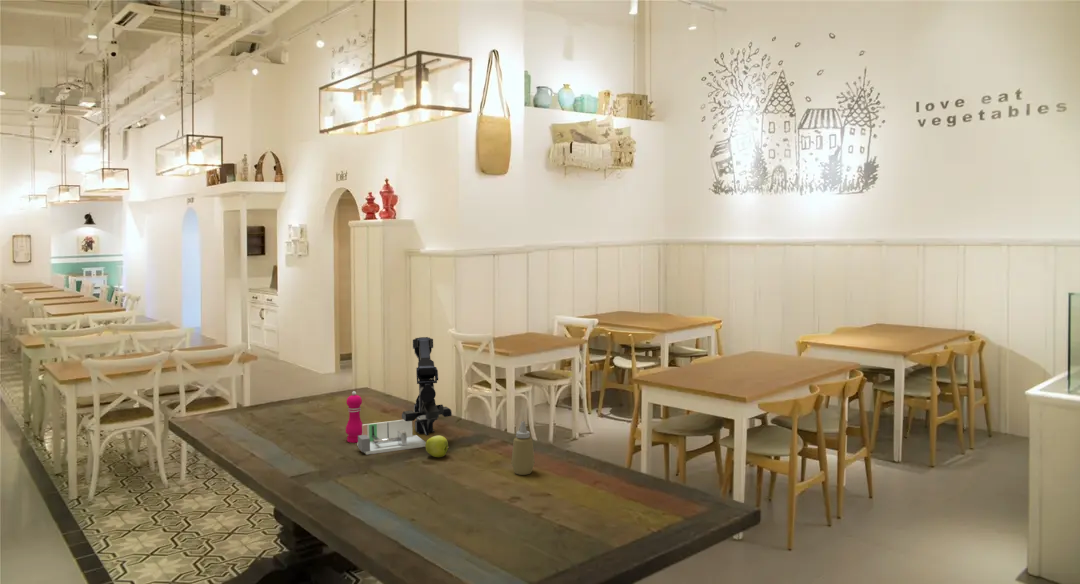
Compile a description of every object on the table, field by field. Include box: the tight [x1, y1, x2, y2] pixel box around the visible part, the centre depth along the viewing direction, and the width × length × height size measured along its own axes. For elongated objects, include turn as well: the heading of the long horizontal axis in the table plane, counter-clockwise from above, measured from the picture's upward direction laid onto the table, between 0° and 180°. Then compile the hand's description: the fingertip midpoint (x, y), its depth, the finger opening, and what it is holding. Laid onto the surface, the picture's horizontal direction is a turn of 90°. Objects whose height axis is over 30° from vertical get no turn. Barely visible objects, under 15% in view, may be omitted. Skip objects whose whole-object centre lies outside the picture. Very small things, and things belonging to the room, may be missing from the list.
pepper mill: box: [345, 390, 364, 444], centre depth 308 cm, size 7×7×20 cm
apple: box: [424, 435, 450, 458], centre depth 286 cm, size 8×9×8 cm
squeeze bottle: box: [511, 421, 536, 476], centre depth 267 cm, size 8×8×18 cm
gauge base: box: [356, 419, 426, 456], centre depth 300 cm, size 26×13×8 cm, turn 117°
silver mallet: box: [372, 426, 407, 446], centre depth 299 cm, size 12×11×6 cm
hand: (427, 435), depth 303 cm, fingers closed
